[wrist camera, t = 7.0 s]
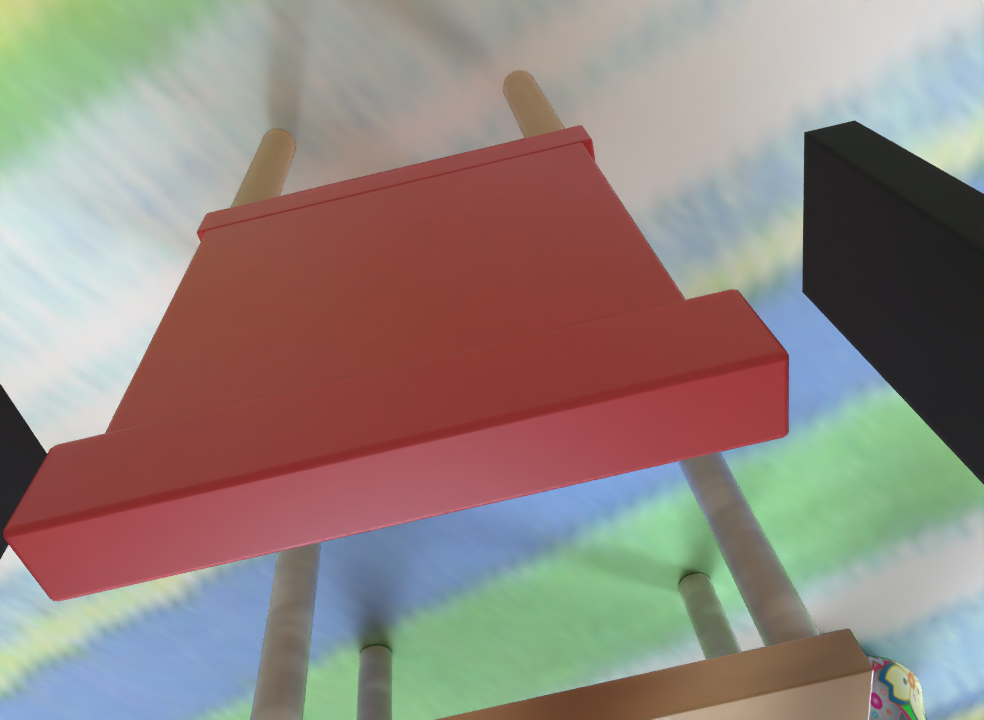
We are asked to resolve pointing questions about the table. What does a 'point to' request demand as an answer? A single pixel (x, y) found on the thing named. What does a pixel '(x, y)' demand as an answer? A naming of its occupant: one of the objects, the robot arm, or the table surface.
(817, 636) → the side table
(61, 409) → the table surface
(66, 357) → the table surface
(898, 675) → the mug
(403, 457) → the chair
